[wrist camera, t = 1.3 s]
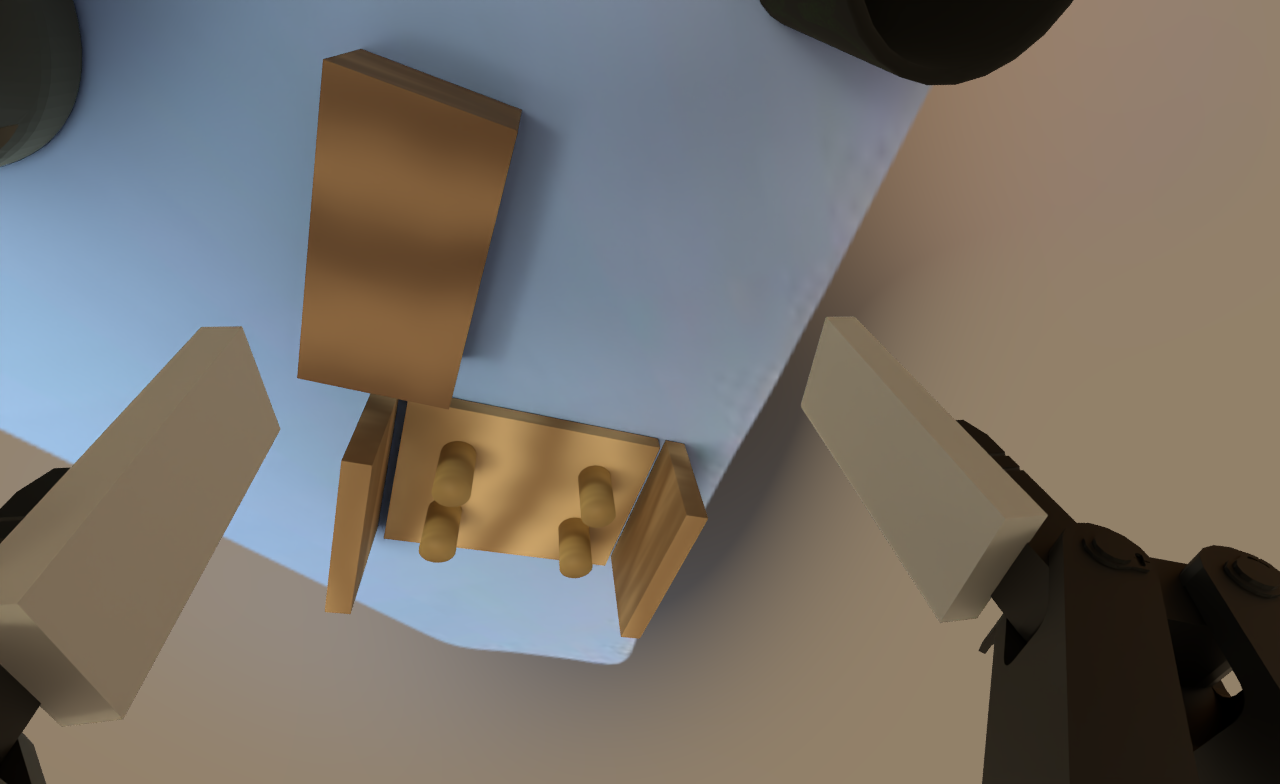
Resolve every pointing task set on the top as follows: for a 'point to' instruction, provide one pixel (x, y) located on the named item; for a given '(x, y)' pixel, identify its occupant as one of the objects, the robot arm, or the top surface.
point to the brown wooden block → (398, 226)
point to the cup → (924, 32)
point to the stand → (517, 497)
